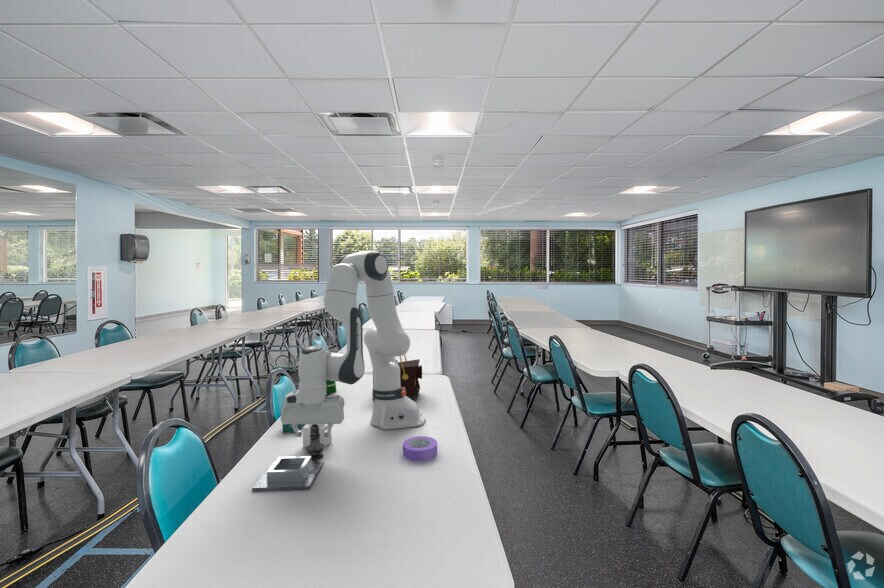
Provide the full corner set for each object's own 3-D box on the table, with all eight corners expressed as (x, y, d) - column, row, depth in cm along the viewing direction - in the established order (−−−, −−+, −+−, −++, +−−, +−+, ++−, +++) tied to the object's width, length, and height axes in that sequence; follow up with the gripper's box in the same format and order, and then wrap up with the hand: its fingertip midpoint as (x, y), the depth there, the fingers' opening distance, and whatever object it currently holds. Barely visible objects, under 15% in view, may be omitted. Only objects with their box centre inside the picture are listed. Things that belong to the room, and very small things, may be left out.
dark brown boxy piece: (420, 401, 196) (419, 349, 194) (372, 402, 196) (371, 350, 195) (422, 391, 212) (421, 343, 211) (377, 392, 212) (376, 344, 211)
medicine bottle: (331, 442, 149) (331, 410, 148) (318, 450, 142) (317, 416, 142) (316, 439, 152) (315, 407, 151) (302, 447, 145) (301, 413, 145)
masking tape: (419, 465, 131) (419, 453, 131) (395, 454, 139) (395, 443, 139) (444, 453, 140) (444, 442, 140) (420, 443, 148) (420, 433, 148)
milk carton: (327, 388, 220) (326, 351, 219) (339, 391, 215) (338, 353, 214) (314, 393, 212) (313, 354, 211) (326, 395, 207) (325, 356, 206)
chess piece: (307, 462, 133) (306, 426, 133) (304, 455, 139) (303, 420, 138) (326, 458, 136) (325, 423, 135) (322, 452, 141) (321, 417, 141)
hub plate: (323, 463, 132) (323, 451, 132) (309, 489, 116) (309, 475, 116) (273, 465, 132) (273, 452, 132) (252, 491, 116) (251, 477, 116)
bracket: (300, 432, 160) (299, 412, 160) (282, 433, 159) (282, 413, 159) (311, 416, 178) (310, 398, 177) (295, 417, 177) (294, 399, 177)
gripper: (346, 392, 140) (346, 432, 140) (285, 392, 139) (285, 433, 139) (342, 397, 133) (342, 439, 134) (278, 398, 133) (279, 440, 133)
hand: (313, 436), depth 137 cm, fingers open, 8 cm apart
